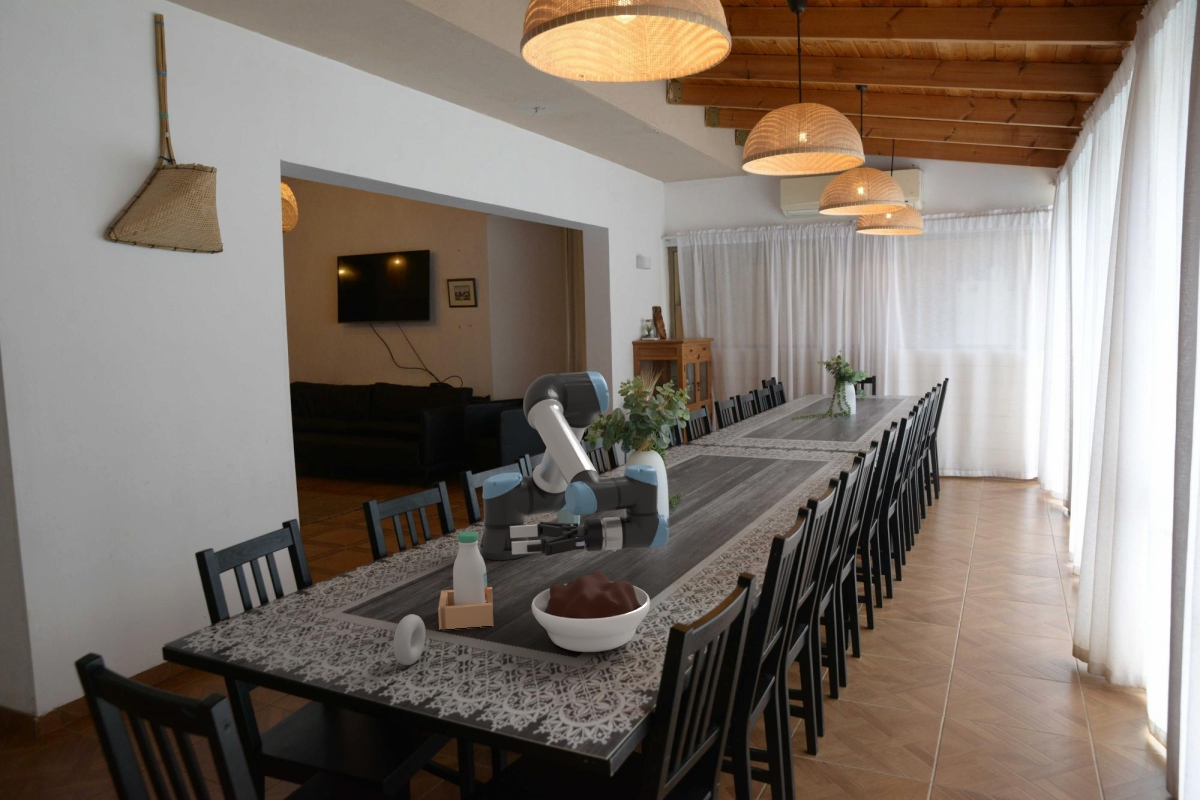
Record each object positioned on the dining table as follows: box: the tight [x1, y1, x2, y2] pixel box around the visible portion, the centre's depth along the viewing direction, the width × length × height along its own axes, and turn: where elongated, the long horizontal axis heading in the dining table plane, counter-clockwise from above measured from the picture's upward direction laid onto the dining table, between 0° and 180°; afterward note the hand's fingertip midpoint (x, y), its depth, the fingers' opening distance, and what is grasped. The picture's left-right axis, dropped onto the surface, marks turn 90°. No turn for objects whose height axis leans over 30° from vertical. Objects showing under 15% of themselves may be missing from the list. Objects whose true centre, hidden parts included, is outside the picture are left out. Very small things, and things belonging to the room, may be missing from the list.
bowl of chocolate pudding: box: [531, 570, 651, 653], centre depth 177 cm, size 25×25×15 cm
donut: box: [392, 613, 427, 666], centre depth 169 cm, size 10×4×10 cm, turn 165°
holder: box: [437, 586, 494, 630], centre depth 194 cm, size 12×13×5 cm
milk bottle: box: [452, 531, 488, 606], centre depth 194 cm, size 8×8×20 cm
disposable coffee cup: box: [555, 508, 581, 525], centre depth 277 cm, size 11×11×15 cm
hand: (510, 539), depth 194 cm, fingers open, 13 cm apart
